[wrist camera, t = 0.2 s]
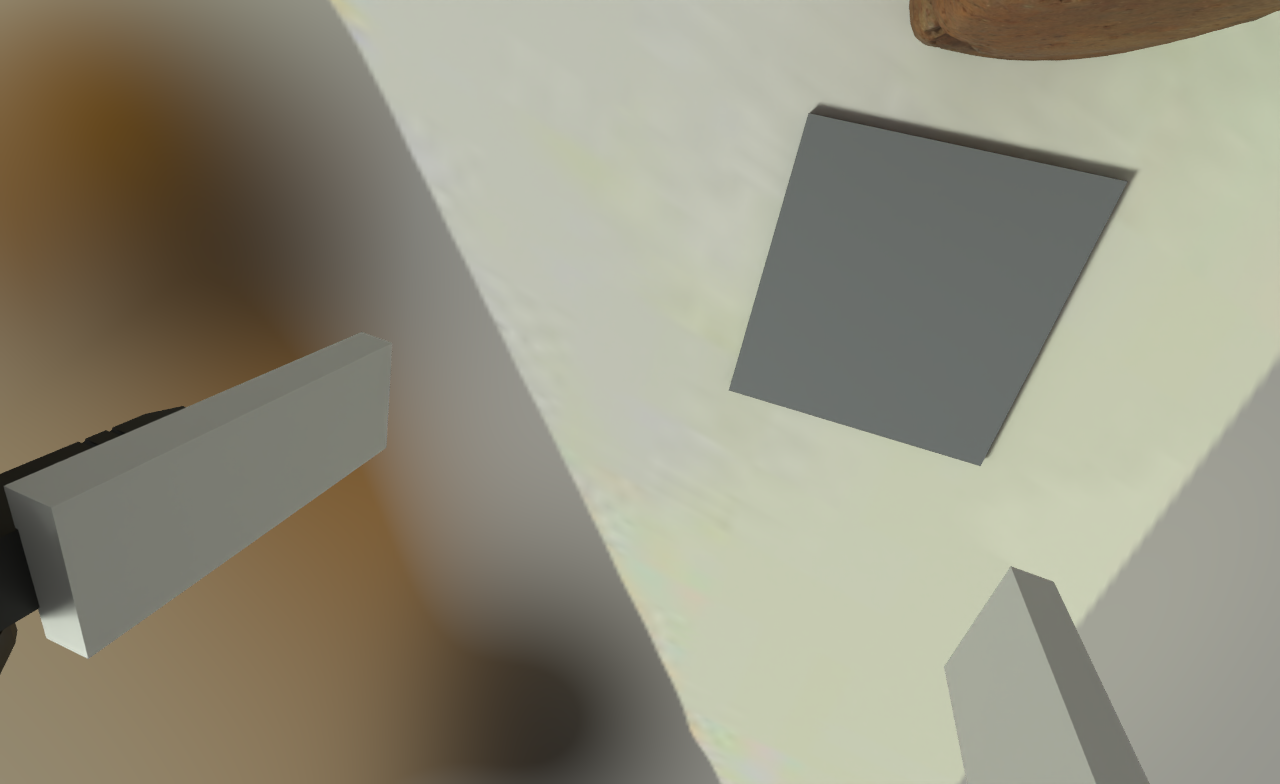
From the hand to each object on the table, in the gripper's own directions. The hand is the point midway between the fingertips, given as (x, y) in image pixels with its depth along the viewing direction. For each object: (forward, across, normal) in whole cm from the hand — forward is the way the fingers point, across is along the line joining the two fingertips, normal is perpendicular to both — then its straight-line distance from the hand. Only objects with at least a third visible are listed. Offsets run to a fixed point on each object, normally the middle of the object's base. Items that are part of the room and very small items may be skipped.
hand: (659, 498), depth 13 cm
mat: (+28, +8, 0) cm, 29 cm away
